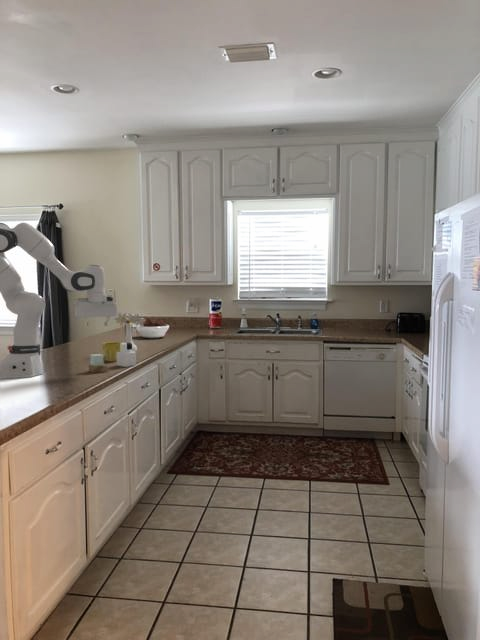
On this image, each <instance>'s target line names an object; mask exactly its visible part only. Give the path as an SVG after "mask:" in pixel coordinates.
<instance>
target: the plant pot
mask: <svg viewBox="0 0 480 640" xmlns="http://www.w3.org/2000/svg"><path fill="white" fill-rule="evenodd" d="M121 343H122V342H121V341H120V342H117V341H109V342H108V341H107V342H103V343H102V350H103V352H104V356H105V360H106V362H117V352H121V351H120V344H121Z"/></svg>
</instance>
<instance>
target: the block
mask: <svg viewBox="0 0 480 640" xmlns="http://www.w3.org/2000/svg"><path fill="white" fill-rule="evenodd" d="M88 372H90V373H92V374H98V373H99V374H101V373H107V372H108V365H107V364H105V363H103V365H101V366H92V365H90V364H89V365H88Z"/></svg>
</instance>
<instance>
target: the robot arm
mask: <svg viewBox="0 0 480 640" xmlns="http://www.w3.org/2000/svg"><path fill="white" fill-rule="evenodd" d="M16 247H19V248H20V249H22V250H23V251H24V252H26V253H27V254H28V255H29V256H30V257H32V258H33V259H35V260H36V262H37V261H38V262H39V263H40V264H42V265H43V266H45V268H46V269H48V270H49V271H50V272H51V273H52V274H53V275H54V276H55V277H56V278H57V279H58V280H59V283H60V285H61V287H62V288H63V289H65V290H66V291H67V292H84V291H86V297H82V298H81V297H78V298H76V299H75V300H74V307H75V309H74V316H75V317H77V318H82V322H83V323H84V327H89V323H90V322H88V321H86V320H87V318H92V317H94V318H95V317H97V318H98V317H99V318H100V317H105V318H106V320H105V321H103V326H106V327H107V326H108V325H109V324H108V323H109V321H110V320H111V317H116V316H118V308H117V304H116V302H115V301H116V298H115V297H114V296H111V295H107V294H106V290H105V287H106V274H105V273H106V272H105V268H104V267H102V266H101V265H96V264H89V265H87V266H86V267H84V268H82V269H80V270H77V271H73V270H70V269H68V268H67V267H66V266H65V265H64V264H63V263H62V262H61V261H60V260H58V258H57V257H56V255H55V245H53V243H52V242H51V241H50V240H49V238H47V237H46V236H45V234H43V233H42V232H41V231H39V230H38V229H37V228H36V227H34V226H32V225H31V224H29V223H27V222H21V223H18V224H16V225H15V226H14V227H12V228H10V226H9V225H7V224H6V223H2V222H0V294H1V297H2V298H3V300H4V302H5V306H6V309H7V310H9V312H11V313H13V314H14V315H17V317H16V322H15V325H14V326H13V328H12V329H13V330H12V331H13V345H8V346H7V350H9V351H8V352H9V353H8V354H7V355H6V356H5V357H3V358H2V359H1V360H0V380H3V379H5V380H6V379H7V380H8V379H19V378H20V379H21V378H23V379H25V378H33V377H36V376H40V375H43V374H44V370H43V366H42V362H41V344H40V331H39V330H40V323H41V318H42V315H43V312H44V311H45V309H46V301H45V299H44V298H43V297H42V296H41V294H37V293H35V292H31V291H30V292H28V291H27V290H26V289H25V287H24V285H23V282H22V277H21V276H20V274H19V273H18V271H17V270H16V268H15V267H14V266H13V264H12V262H10V261H9V258H8V257H7V256H6V254H5V253H6V252H8V251H11V250H12V249H14V248H16Z"/></svg>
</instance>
